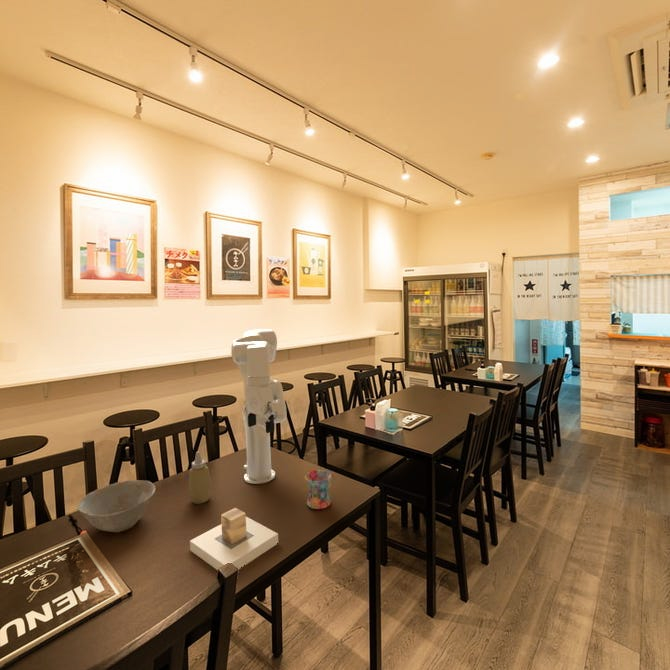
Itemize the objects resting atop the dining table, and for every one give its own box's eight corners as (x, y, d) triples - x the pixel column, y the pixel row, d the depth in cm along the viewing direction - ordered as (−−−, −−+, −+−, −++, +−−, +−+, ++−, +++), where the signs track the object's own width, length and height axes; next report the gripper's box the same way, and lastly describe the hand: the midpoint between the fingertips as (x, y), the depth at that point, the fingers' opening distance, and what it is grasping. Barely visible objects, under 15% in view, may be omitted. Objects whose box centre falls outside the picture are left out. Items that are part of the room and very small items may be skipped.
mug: (318, 514, 131) (317, 484, 130) (300, 505, 138) (299, 476, 137) (342, 501, 140) (342, 472, 139) (324, 492, 146) (324, 465, 145)
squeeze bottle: (215, 494, 147) (213, 448, 145) (206, 506, 139) (203, 457, 137) (195, 494, 147) (192, 448, 146) (185, 505, 139) (181, 456, 138)
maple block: (222, 537, 115) (220, 514, 114) (236, 529, 118) (235, 507, 118) (232, 544, 111) (231, 520, 111) (246, 535, 115) (245, 513, 115)
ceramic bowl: (80, 556, 113) (77, 523, 112) (80, 520, 132) (77, 491, 131) (163, 529, 125) (161, 499, 124) (151, 500, 144) (149, 474, 143)
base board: (190, 550, 114) (189, 540, 114) (241, 522, 128) (240, 513, 127) (226, 577, 102) (226, 565, 102) (278, 543, 116) (278, 533, 116)
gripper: (234, 379, 137) (237, 426, 139) (266, 386, 126) (268, 437, 128) (252, 375, 143) (254, 420, 145) (284, 382, 132) (285, 431, 134)
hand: (261, 428), depth 136 cm, fingers open, 9 cm apart
